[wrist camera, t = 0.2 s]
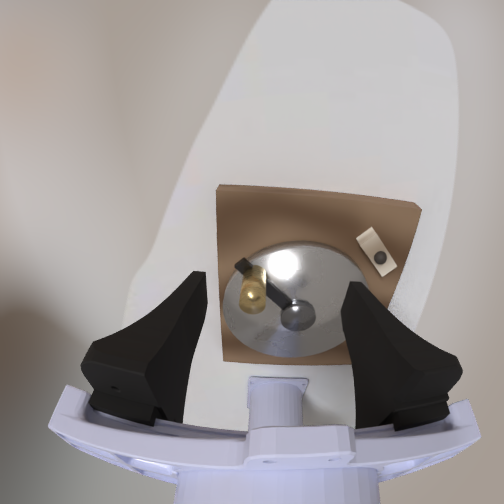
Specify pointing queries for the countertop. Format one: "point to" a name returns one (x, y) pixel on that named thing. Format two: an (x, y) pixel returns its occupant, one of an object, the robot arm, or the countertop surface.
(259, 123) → the countertop surface
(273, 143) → the countertop surface
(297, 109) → the countertop surface
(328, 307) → the cam dial
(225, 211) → the stand
